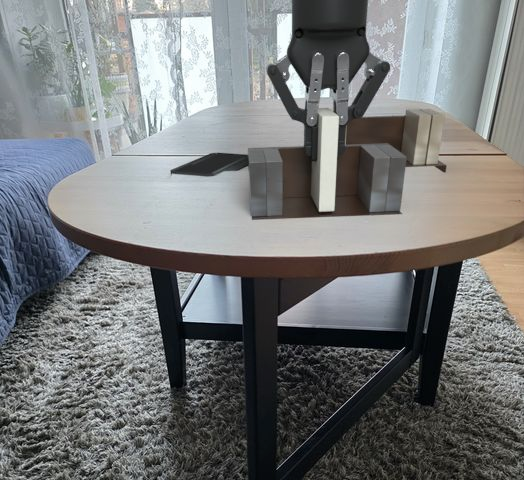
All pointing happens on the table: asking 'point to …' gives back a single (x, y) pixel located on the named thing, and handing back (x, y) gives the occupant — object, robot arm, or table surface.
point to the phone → (212, 164)
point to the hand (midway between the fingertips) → (323, 159)
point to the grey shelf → (347, 182)
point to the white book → (325, 161)
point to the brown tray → (403, 135)
